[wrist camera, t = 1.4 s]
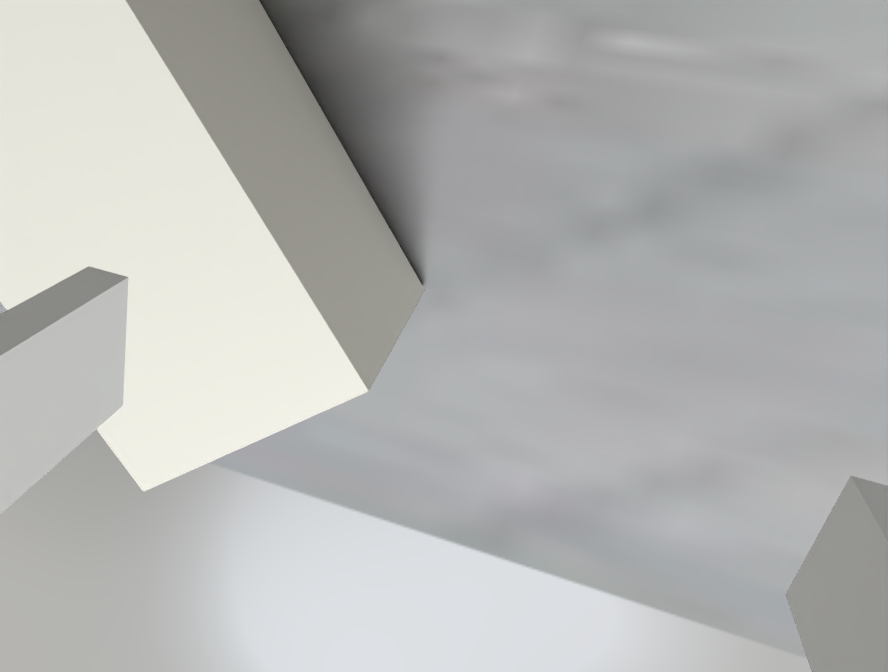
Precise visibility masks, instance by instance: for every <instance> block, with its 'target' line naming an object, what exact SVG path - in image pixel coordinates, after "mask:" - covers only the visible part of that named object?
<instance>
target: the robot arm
mask: <svg viewBox="0 0 888 672" xmlns="http://www.w3.org/2000/svg"><path fill="white" fill-rule="evenodd" d="M127 301H128V277H126V276H123V275H119V274H115V273H112V272H108V271H105V270H101V269H97V268H94V267H90V266H88V267H86V268H85V269H83V270H81V271H79V272H77V273H75V274H73V275H72V276H70V277H68V278H66V279H64V280H62V281H61V282H59V283H57V284H55V285H53V286H51V287H49V288H48V289H46V290H44V291H42V292H40V293H38V294H37V295H35V296H33V297H31V298H29V299H27V300H26V301H24V302H22V303H20V304H18V305H16V306H14V307H13V308H11V309H9V310H7V311H5V312H3V313H2V314H0V514H1V513H2V512H3V511H4V510H6V509H7V508H8V507H9V506H10V505H11V504H12V503H13V502H15V501H16V500H17V499H18V498H19V497H20V496H21V495H22V494H24V493H25V492H26V491H27V490H28V489H29V488H30V487H32V486H33V485H34V484H35V483H36V482H37V481H38V480H39V479H41V478H42V477H43V476H44V475H45V474H46V473H47V472H48V471H50V470H51V469H52V468H53V467H54V466H55V465H56V464H57V463H59V462H60V461H61V460H62V459H63V458H64V457H65V456H66V455H68V454H69V453H70V452H71V451H72V450H73V449H74V448H76V447H77V446H78V445H79V444H80V443H81V442H82V441H83V440H85V439H86V438H87V437H88V436H89V435H90V434H91V433H92V432H94V431H95V430H96V429H97V428H98V427H99V426H100V425H101V424H103V423H104V422H105V421H106V420H107V419H108V418H109V417H110V416H112V415H113V414H114V413H115V412H116V411H117V410H118V409H120V408H121V407H122V406H123V393H124V370H125V347H126V324H127ZM786 597H787V600H788V603H789V606H790V609H791V612H792V615H793V618H794V621H795V624H796V627H797V630H798V633H799V635H800V638H801V641H802V644H803V647H804V650H805V653H806V656H807V659H808V662H809V665H810V668H811V671H812V672H888V486H886V485H883V484H879V483H875V482H872V481H868V480H865V479H861V478H857V477H854V476H850V478H849V480H848V482H847V483H846V485H845V487H844V489H843V491H842V493H841V494H840V496H839V498H838V500H837V502H836V503H835V505H834V507H833V509H832V511H831V513H830V514H829V516H828V518H827V520H826V522H825V523H824V525H823V527H822V529H821V531H820V533H819V534H818V536H817V538H816V540H815V542H814V544H813V545H812V547H811V549H810V551H809V553H808V554H807V556H806V558H805V560H804V562H803V564H802V565H801V567H800V569H799V571H798V573H797V574H796V576H795V578H794V580H793V582H792V584H791V585H790V587H789V589H788V591H787V593H786Z"/></svg>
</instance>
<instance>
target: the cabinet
mask: <svg viewBox="0 0 888 672" xmlns="http://www.w3.org/2000/svg"><path fill="white" fill-rule="evenodd" d="M88 266H90V267H94V268H97V269H101V270H105V271H108V272H112V273H115V274H119V275H123V276H126V277H128V301H127V324H126V347H125V370H124V393H123V406H122V407H121V408H120V409H118V410H117V411H116V412H115V413H114V414H113V415H112V416H110V417H109V418H108V419H107V420H106V421H105V422H104V423H103V424H101V425H100V426H99V427H98V428H97V430H98V432H99V433H100V435H101V436H102V437H103V439H104V440H105V441H106V443H107V444H108V445H109V447H110V448H111V449H112V451H113V452H114V453H115V455H116V456H117V457H118V459H119V460H120V461H121V463H122V464H123V465H124V467H125V468H126V469H127V471H128V472H129V473H130V474H131V476H132V477H133V479H134V480H135V481H136V483H137V484H138V485H139V487H140V488H141V489H142V491H146V490H148V489H151V488H153V487H155V486H157V485H160V484H162V483H164V482H166V481H168V480H171V479H173V478H175V477H177V476H180V475H182V474H184V473H186V472H189V471H191V470H193V469H195V468H197V467H200V466H202V465H204V464H207V463H209V462H211V461H213V460H216V459H218V458H220V457H222V456H225V455H227V454H229V453H231V452H234V451H236V450H238V449H240V448H243V447H245V446H247V445H249V444H251V443H254V442H256V441H258V440H260V439H263V438H265V437H267V436H269V435H272V434H274V433H276V432H278V431H281V430H283V429H285V428H287V427H290V426H292V425H294V424H296V423H299V422H301V421H303V420H305V419H308V418H310V417H312V416H314V415H317V414H319V413H321V412H323V411H325V410H328V409H330V408H332V407H334V406H337V405H339V404H341V403H343V402H346V401H348V400H350V399H352V398H355V397H357V396H359V395H361V394H364V393H366V392H368V391H369V390H370V388H371V386H372V384H373V383H374V381H375V379H376V377H377V375H378V374H379V372H380V370H381V368H382V366H383V365H384V363H385V361H386V359H387V357H388V356H389V354H390V352H391V350H392V348H393V347H394V345H395V343H396V341H397V339H398V338H399V336H400V334H401V332H402V330H403V329H404V327H405V325H406V323H407V321H408V320H409V318H410V316H411V314H412V312H413V311H414V309H415V307H416V305H417V303H418V302H419V300H420V298H421V296H422V294H423V293H424V291H425V289H424V288H423V286H422V284H421V282H420V281H419V279H418V277H417V275H416V274H415V272H414V270H413V268H412V267H411V265H410V263H409V261H408V260H407V258H406V256H405V254H404V253H403V251H402V249H401V247H400V246H399V244H398V242H397V240H396V239H395V237H394V235H393V233H392V232H391V230H390V228H389V226H388V225H387V223H386V221H385V219H384V218H383V216H382V214H381V212H380V211H379V209H378V207H377V205H376V204H375V202H374V200H373V199H372V197H371V195H370V193H369V192H368V190H367V188H366V186H365V185H364V183H363V181H362V179H361V178H360V176H359V174H358V172H357V171H356V169H355V167H354V165H353V164H352V162H351V160H350V158H349V157H348V155H347V153H346V151H345V150H344V148H343V146H342V144H341V143H340V141H339V139H338V137H337V136H336V134H335V132H334V130H333V129H332V127H331V125H330V123H329V122H328V120H327V118H326V116H325V115H324V113H323V111H322V109H321V108H320V106H319V104H318V102H317V101H316V99H315V97H314V96H313V94H312V92H311V90H310V89H309V87H308V85H307V83H306V82H305V80H304V78H303V76H302V75H301V73H300V71H299V69H298V68H297V66H296V64H295V62H294V61H293V59H292V57H291V55H290V54H289V52H288V50H287V48H286V47H285V45H284V43H283V41H282V40H281V38H280V36H279V34H278V33H277V31H276V29H275V27H274V26H273V24H272V22H271V20H270V19H269V17H268V15H267V13H266V12H265V10H264V8H263V6H262V5H261V3H260V1H259V0H0V302H1V303H2V304H3V305H4V307H5V308H6V309H7V310H9V309H11V308H13V307H14V306H16V305H18V304H20V303H22V302H24V301H26V300H27V299H29V298H31V297H33V296H35V295H37V294H38V293H40V292H42V291H44V290H46V289H48V288H49V287H51V286H53V285H55V284H57V283H59V282H61V281H62V280H64V279H66V278H68V277H70V276H72V275H73V274H75V273H77V272H79V271H81V270H83V269H85V268H86V267H88Z"/></svg>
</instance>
